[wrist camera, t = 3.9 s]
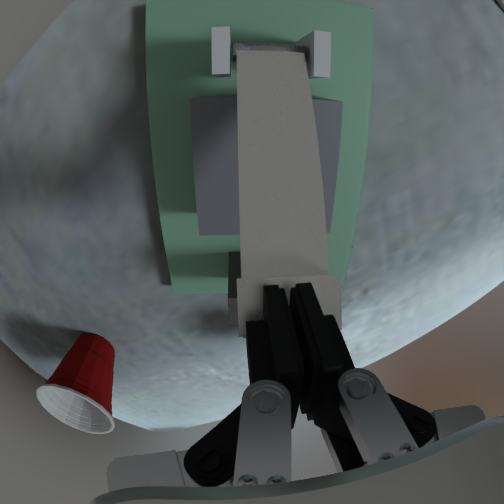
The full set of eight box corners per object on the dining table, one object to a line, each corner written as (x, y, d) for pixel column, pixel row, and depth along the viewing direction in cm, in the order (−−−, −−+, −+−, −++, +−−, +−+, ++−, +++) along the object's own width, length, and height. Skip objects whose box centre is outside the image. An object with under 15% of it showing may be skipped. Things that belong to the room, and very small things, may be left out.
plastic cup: (134, 333, 35) (113, 412, 25) (129, 374, 40) (114, 441, 30) (61, 308, 33) (26, 378, 22) (67, 353, 38) (43, 415, 28)
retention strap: (233, 52, 15) (233, 29, 13) (302, 54, 16) (308, 32, 13) (238, 333, 14) (239, 343, 12) (327, 328, 14) (341, 336, 12)
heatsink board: (151, 5, 16) (117, -22, 10) (365, 11, 17) (413, -8, 10) (175, 285, 31) (163, 341, 24) (339, 279, 32) (362, 331, 25)
